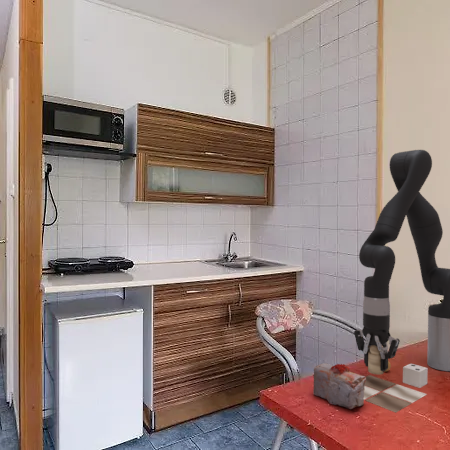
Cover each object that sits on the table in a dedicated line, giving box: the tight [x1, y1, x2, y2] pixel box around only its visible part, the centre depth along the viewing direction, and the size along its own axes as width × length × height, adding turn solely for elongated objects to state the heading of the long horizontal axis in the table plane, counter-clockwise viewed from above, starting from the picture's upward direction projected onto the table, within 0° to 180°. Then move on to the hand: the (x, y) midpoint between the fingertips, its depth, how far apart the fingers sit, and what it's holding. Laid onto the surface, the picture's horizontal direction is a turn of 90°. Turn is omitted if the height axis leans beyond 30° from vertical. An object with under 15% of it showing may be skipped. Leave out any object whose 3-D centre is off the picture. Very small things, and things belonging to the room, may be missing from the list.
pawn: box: [367, 345, 385, 376], centre depth 119 cm, size 4×4×8 cm
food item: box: [312, 363, 366, 410], centre depth 106 cm, size 14×8×10 cm, turn 42°
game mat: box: [364, 374, 428, 414], centre depth 112 cm, size 18×18×1 cm
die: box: [402, 363, 429, 389], centre depth 119 cm, size 5×5×5 cm
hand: (375, 367), depth 119 cm, fingers closed on pawn, 4 cm apart
